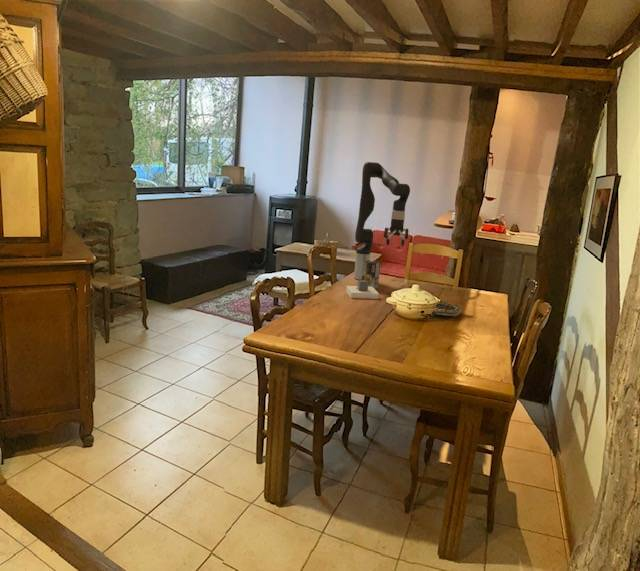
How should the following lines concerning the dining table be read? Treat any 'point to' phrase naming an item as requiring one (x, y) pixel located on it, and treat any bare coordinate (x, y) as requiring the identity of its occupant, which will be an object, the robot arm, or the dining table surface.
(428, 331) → the dining table surface
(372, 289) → the socket board
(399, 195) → the robot arm
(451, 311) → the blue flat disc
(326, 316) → the dining table surface
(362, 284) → the plug
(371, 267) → the coffee box
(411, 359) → the dining table surface
